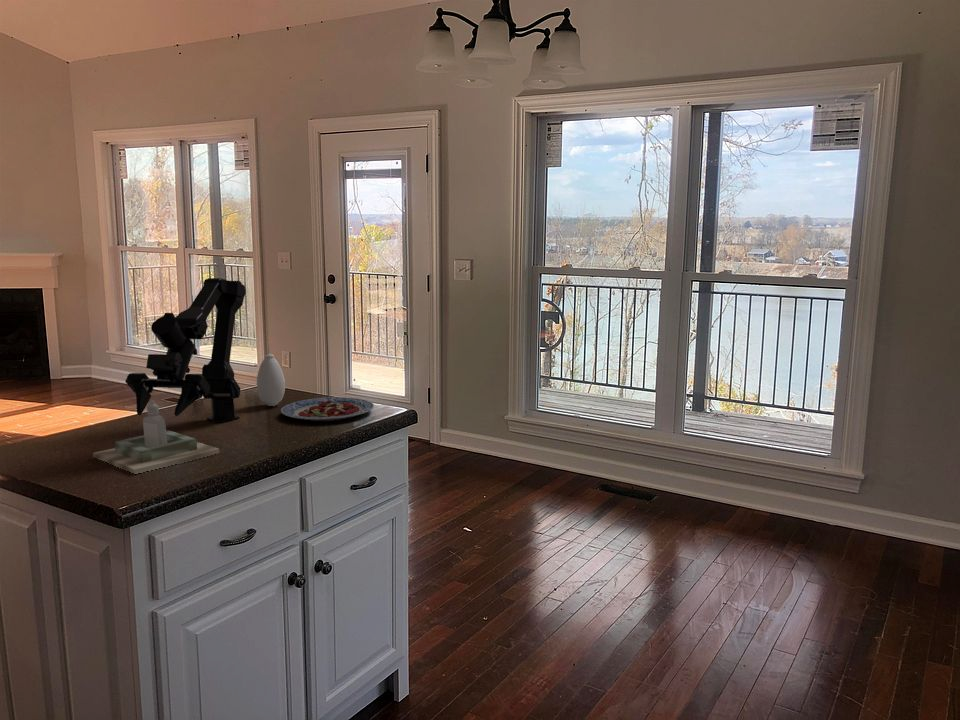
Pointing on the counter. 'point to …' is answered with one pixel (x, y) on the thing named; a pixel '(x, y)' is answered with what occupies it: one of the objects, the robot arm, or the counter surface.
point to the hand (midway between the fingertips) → (157, 414)
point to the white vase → (270, 381)
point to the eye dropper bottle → (154, 427)
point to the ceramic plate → (327, 408)
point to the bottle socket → (154, 453)
